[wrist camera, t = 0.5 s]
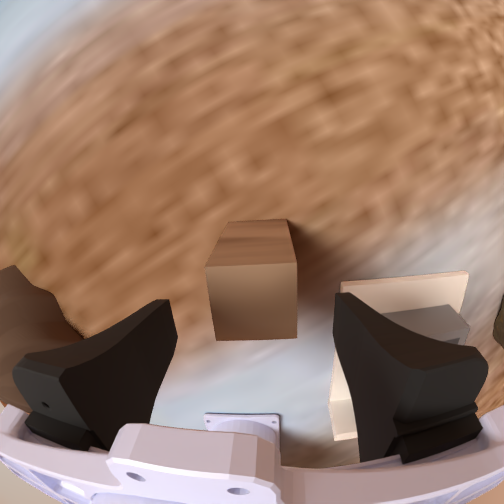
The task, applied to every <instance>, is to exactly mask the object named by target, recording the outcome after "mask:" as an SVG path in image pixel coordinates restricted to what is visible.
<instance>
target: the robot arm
mask: <svg viewBox="0 0 504 504" xmlns="http://www.w3.org/2000/svg"><path fill="white" fill-rule="evenodd" d="M333 337H334V342H335V347H336V352H337V355H338V358H339V361H340V364H341V367H342V370H343V373H344V376H345V379H346V382H347V385H348V388H349V391H350V395H351V399H352V404H353V410H354V415H355V422H356V428H357V436H358V445H359V454H360V463H356V464H350V465H344V466H337V467H329V468H320V469H313V468H298V467H287V466H281V454H280V444H279V416H278V415H275V414H272V415H228V414H204V416H203V419H204V422H205V425H206V428H207V431H206V430H193V429H183V428H174V427H166V426H159V425H152V424H149V423H150V418H151V414H152V410H153V406H154V403H155V399H156V396H157V393H158V391H159V388H160V386H161V383H162V381H163V379H164V376H165V374H166V372H167V369H168V367H169V365H170V362H171V360H172V357H173V355H174V351H175V347H176V343H177V339H178V335H177V331H176V327H175V323H174V319H173V315H172V310H171V306H170V302H169V299H163V300H155V301H152V302H151V303H149V304H147V305H146V306H144V307H142V308H141V309H139V310H138V311H136V312H135V313H133V314H132V315H130V316H128V317H127V318H125V319H124V320H122V321H120V322H118V323H117V324H115V325H113V326H112V327H110V328H108V329H106V330H104V331H102V332H100V333H98V334H96V335H94V336H92V337H89V338H87V339H84V340H81V341H79V342H76V343H73V344H70V345H67V346H63V347H60V348H56V349H51V350H46V351H40V352H33V353H27V354H25V355H24V356H23V358H22V359H21V360H20V361H19V362H18V363H17V364H16V365H15V366H14V367H13V370H12V377H13V380H14V383H15V385H16V386H17V388H18V390H19V391H20V393H21V394H22V396H23V397H24V399H25V400H26V402H27V403H28V405H29V406H30V408H31V409H32V410H33V411H32V412H31V413H30V415H28V414H27V413H26V412H25V411H23V410H21V409H19V408H17V407H15V406H13V405H11V404H8V405H7V406H6V407H5V409H4V410H3V411H2V413H1V414H0V461H1V462H2V463H3V464H4V465H5V466H6V467H8V468H9V469H10V470H11V471H12V472H13V473H14V474H15V475H16V476H18V477H19V478H21V479H22V480H24V481H25V482H27V483H29V484H30V485H32V486H34V487H35V488H37V489H39V490H40V491H42V492H44V493H45V494H47V495H49V496H51V497H52V498H54V499H56V500H57V501H59V502H61V503H63V504H466V503H468V502H469V501H471V500H473V499H475V498H477V497H479V496H480V495H482V494H484V493H486V492H488V491H489V490H491V489H493V488H494V487H496V486H497V485H498V484H500V483H501V482H502V481H503V480H504V405H502V406H500V407H498V408H496V409H494V410H492V411H489V412H487V413H486V414H484V415H483V416H481V417H480V418H479V419H478V418H477V416H476V414H475V412H477V410H478V407H477V405H476V403H475V402H474V401H475V399H476V397H477V396H478V394H479V392H480V390H481V388H482V386H483V384H484V382H485V380H486V377H487V375H488V368H489V367H488V363H487V361H486V360H485V359H484V357H483V356H482V355H481V353H480V352H479V351H478V350H477V348H476V347H471V346H464V345H457V344H452V343H447V342H443V341H439V340H436V339H432V338H429V337H426V336H424V335H421V334H418V333H416V332H413V331H411V330H409V329H407V328H405V327H403V326H400V325H398V324H397V323H395V322H393V321H391V320H390V319H388V318H386V317H385V316H383V315H382V314H380V313H378V312H377V311H376V310H374V309H373V308H371V307H370V306H368V305H367V304H366V303H364V302H363V301H362V300H360V299H359V298H357V297H356V296H355V295H353V294H352V293H350V292H344V293H336V295H335V310H334V323H333Z"/></svg>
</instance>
